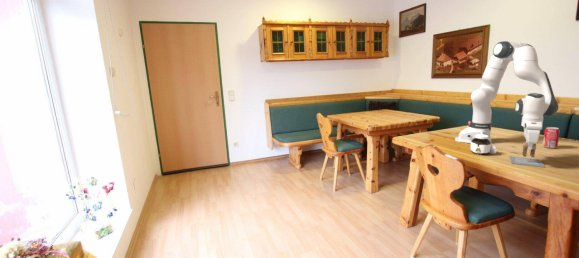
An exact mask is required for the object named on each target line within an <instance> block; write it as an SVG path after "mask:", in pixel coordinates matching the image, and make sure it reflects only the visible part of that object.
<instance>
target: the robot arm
mask: <svg viewBox="0 0 579 258" xmlns="http://www.w3.org/2000/svg"><path fill="white" fill-rule="evenodd" d="M537 54H538V53H537V50H536V48H535V47H534V46H533V45H531V44H528V43H525V42H520V41H508V40H505V41H504V40H503V41H499V42H497V43H496V44H495V46H494V47H493V50H492V56H490V59H489V61H488V63H487V64H486V66H485V69H484V72H483V74H482V76H481V83H480V86H479V88H476V89H475V90H473V91H472V92H471V95H470V99H471V104H472V118H471V119H472V120H471V121H470V120H469V121H467V122H468V126H467V127H465V128H463V129H462V130H460V132H459V134H458V136H455V138H454V140H455V142H457V143H458V142H459V143H467V144H471V141H472V140H473V139H474V138H475V135H476V134H483V135H487V136H488V139H489V140H490V142H491V143H492V144H493V142H492V139H491V138H492V137H491V131H492V117H493V115H492V114H493V111H492V107H491V102H492V101H494V100H495V99H496V98H497V96H498V91H499V89H500V85H501V81H502V79H503V77H504V74H505V72H506V71H507V68H508V65H509V63H511V62H513V73H514V76H516V77H517V78H518V79H521V80H523V81H526V82H530V83H533V84H536V85H537V86H538V87H539V91H540V93H536V92H535V93H534V92H532V93H531V92H530V93H527V94H526V95H525V97H523V98H520V99H518V100H517V101H516V102H515V103H514V104H515V106H514V112H516V113H517V114H518V115H522V117H521V127H523V137H524V138H525V142H528V149H527V150H531V149H532V146H533V144H536V145H537V144H538V141H539V138H540V134H541V130H543V123H544V117H551V116H553V115H554V114H556V113H557V112H558V110H559V103H558V101H557V98H556V96H555V94H554V90H553V88H552V84H551V80H550V78H549V76H548V73H547V72H546V71H544V70H543V69H542V68H541V67H540V65H539V60H538V55H537Z"/></svg>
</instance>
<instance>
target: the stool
mask: <svg viewBox="0 0 579 258" xmlns="http://www.w3.org/2000/svg"><path fill="white" fill-rule="evenodd" d="M528 150H529V149H528V142H526V141H524V142H522V156H523V158H527V154H528ZM536 150H537V143H536V144H533V146H532V149H530V152H529V156H530V158H535V156H536V155H535V154H536Z"/></svg>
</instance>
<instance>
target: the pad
mask: <svg viewBox="0 0 579 258" xmlns="http://www.w3.org/2000/svg"><path fill="white" fill-rule="evenodd" d="M509 160H510V163H511V165H519V166H528V167H534V168H535V167H536V168H537V167H538V168H546V167H545V165H544V163H543V161H542V160H541V158H532V157H529V158H528V157H520V156H513V155H511V156H510V155H509Z"/></svg>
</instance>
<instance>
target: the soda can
mask: <svg viewBox="0 0 579 258" xmlns="http://www.w3.org/2000/svg"><path fill="white" fill-rule="evenodd" d="M543 132H544V134H543V141H542V147H543V148H546V149H551V150H552V149H553V150H555V149H557V148H558V146H559V139H560V133H561V132H560V128H559V127H555V126H547V127H545V129H544V131H543Z"/></svg>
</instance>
